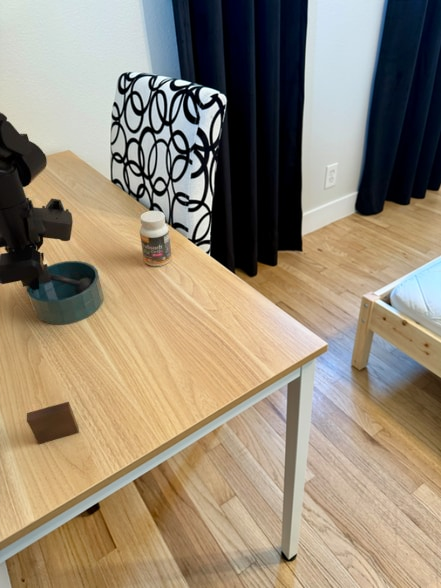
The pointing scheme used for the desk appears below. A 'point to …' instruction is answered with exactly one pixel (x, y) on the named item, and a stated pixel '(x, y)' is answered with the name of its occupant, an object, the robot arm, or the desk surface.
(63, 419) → the chocolate brown square
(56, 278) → the ladle
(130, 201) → the desk surface
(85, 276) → the bowl
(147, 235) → the pill bottle
